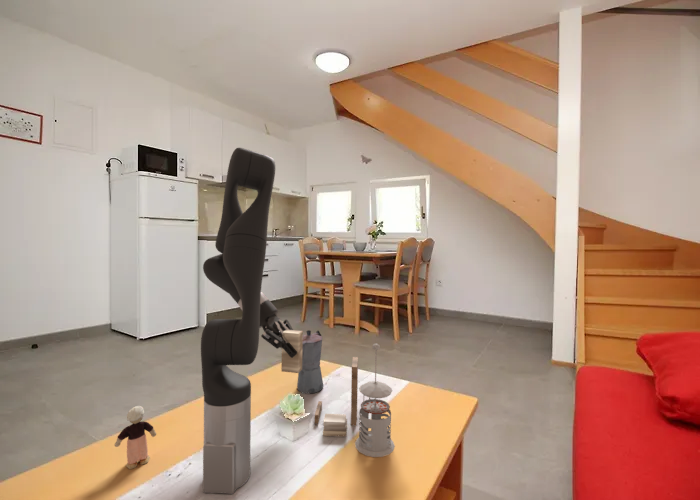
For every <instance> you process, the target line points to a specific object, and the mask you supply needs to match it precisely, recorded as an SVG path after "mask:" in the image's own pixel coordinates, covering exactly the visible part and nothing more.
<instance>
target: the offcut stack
mask: <svg viewBox="0 0 700 500" xmlns="http://www.w3.org/2000/svg"><path fill="white" fill-rule="evenodd" d="M322 424H323V429H322V436H324V437H345V438H346V437H347V434H348V433H347V431H348V418H347V414H345V413H344V414H343V413H324V418H323V423H322Z"/></svg>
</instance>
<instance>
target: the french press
mask: <svg viewBox="0 0 700 500" xmlns="http://www.w3.org/2000/svg"><path fill="white" fill-rule="evenodd" d="M371 348H372V350H375V362H374V363H375V364H374V365H375V366H374V367H375V368H374V369H375V371H374V374H375V375H374V380H372V381H367V382H365V383H364V384H361V385H360V386H359V387H358V389H359V392H360V393H361V395H363V398H362V399H363V401H362V402H361V404H360V409H359V411H358V413H359V414H358V415H359V416H358V417H359V418H358V421H359V423H358V424H359V425H358V427H359V429H358V437H357V438H356V440H355V442H354V445H355V449H356V450H357V451H358V452H359V453H360V454H363V455H365V456H366V457H372V458H383V457H385V456H388V455H390V454H392V453H393V451H394V450H395V447H396V445H395V443H394V441H393V439H392V437H391V436H392V434H391V432H392V412H391V408H390V407H391V406H390V404H389V403H388V402H387V401H385V400H383V399H384V398H387V397H389V396H391V395H392V392H393V389H392V387H391V386H390V385H388V384H386V383H384V382H381V381H379V380H378V381H377V357H378V356H377V355H378V354H377V352H378V351H377V350H380V348H381V346H380V344H379V343H373V344H372V347H371ZM365 397H366V398H368V399H366V400H365ZM387 413H388V414H387ZM369 414H371V416H370V415H369ZM369 417H371V418H369ZM382 417H385V418H382ZM369 429H371V430H369Z"/></svg>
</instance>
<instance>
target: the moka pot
mask: <svg viewBox="0 0 700 500" xmlns="http://www.w3.org/2000/svg"><path fill="white" fill-rule="evenodd" d="M311 333H312V330H310V329H309V330H306V334H303V343H302V370H301V371H300V372H299V373H297V375H298V376H297V384H296V385H297V386H296V387H297V390H298V392H300V393H302V392H303V393H302V394H315V393H317V392H320V391H322V389H323V388H324V380H323V375H322V370H321V369H322V368H321V357H322V345H323V336H322V334H321V332H320V331H319V330H317V331H316V332H313V333H312V334H311Z"/></svg>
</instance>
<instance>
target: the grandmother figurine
mask: <svg viewBox="0 0 700 500" xmlns="http://www.w3.org/2000/svg"><path fill="white" fill-rule="evenodd" d="M143 417H145V409H144V407H143V406H141V405H136V406H134V407H132V408H130V409H129V410H128V412H127V414H126V421H129V423H130V425H126V427H124V428H123V429H122V430H121V431H120V433H119V434H118V436H117V437H116V438H117V439H116V442H114V447H116V448H118V447H120V446H121V443H122V441H123V440H125V439H127V440H126V459H127V463H126V468H127V469H129V470H132V469H135V468H136V467H138V462H139V464H140V465H145V464H146V465H147V464H148V462H149V461H150V459H151V456H150V455H149V453H148V452H149V449H148V440H147V434H146V432H145V431H147V432H149V434H150V436H151V437H152V438H154V437H156V435H157V432H156V430H155V428H154V426H153V425H151V423H149V422H148V421H143Z"/></svg>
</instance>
